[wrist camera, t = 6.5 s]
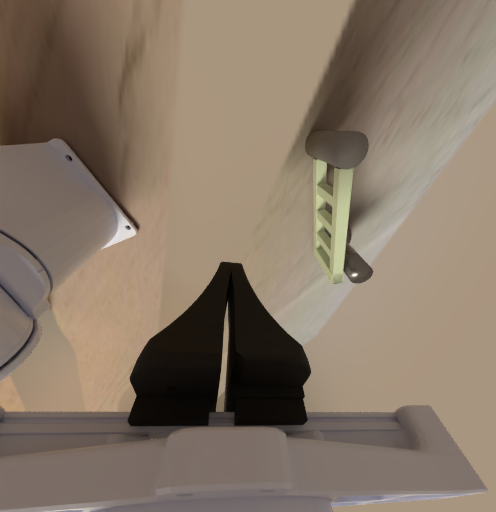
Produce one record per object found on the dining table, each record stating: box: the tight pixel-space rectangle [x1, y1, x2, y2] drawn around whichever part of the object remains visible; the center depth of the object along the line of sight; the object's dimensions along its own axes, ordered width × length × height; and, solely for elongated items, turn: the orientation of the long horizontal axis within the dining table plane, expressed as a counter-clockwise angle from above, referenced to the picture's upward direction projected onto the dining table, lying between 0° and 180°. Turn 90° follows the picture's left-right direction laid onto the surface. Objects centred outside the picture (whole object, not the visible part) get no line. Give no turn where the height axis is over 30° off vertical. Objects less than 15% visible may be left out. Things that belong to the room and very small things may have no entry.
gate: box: [305, 130, 368, 284], centre depth 17 cm, size 12×2×6 cm, turn 12°
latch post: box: [325, 228, 373, 283], centre depth 19 cm, size 4×4×6 cm
